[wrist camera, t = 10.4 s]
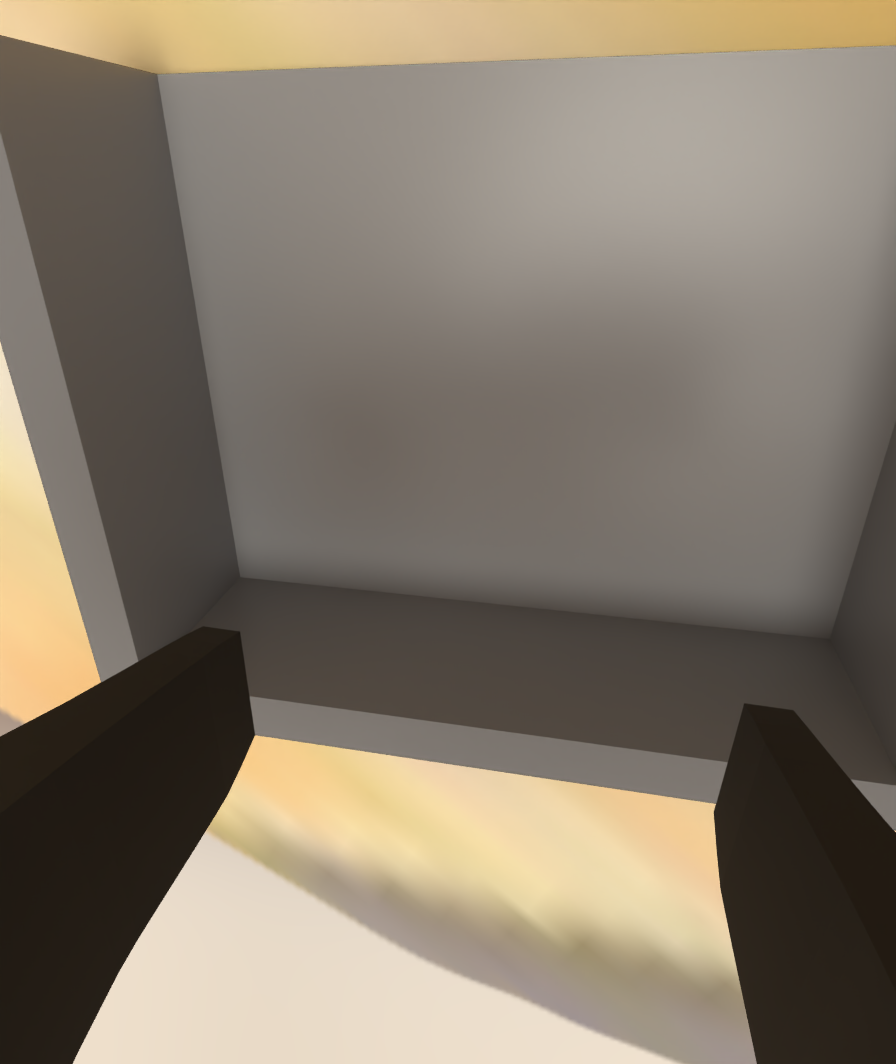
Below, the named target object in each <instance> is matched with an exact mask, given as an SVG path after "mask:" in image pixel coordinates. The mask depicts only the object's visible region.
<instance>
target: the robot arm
mask: <svg viewBox="0 0 896 1064" xmlns="http://www.w3.org/2000/svg"><path fill="white" fill-rule="evenodd" d="M254 736H255V730H254V724H253V717H252V710H251V703H250V696H249V689H248V682H247V676H246V669H245V662H244V655H243V648H242V641H241V634H240V631H233V630H226V629H219V628H212V627H205V626H203V627H201V628H198V629H196V630H194V631H192V632H190V633H188V634H186V635H185V636H183V637H181V638H179V639H177V640H175V641H173V642H172V643H170V644H168V645H166V646H164V647H163V648H161V649H159V650H157V651H156V652H154V653H152V654H150V655H149V656H147V657H145V658H143V659H142V660H140V661H138V662H136V663H135V664H133V665H131V666H129V667H128V668H126V669H124V670H122V671H121V672H119V673H117V674H115V675H113V676H112V677H110V678H108V679H106V680H105V681H103V682H101V683H99V684H98V685H96V686H94V687H92V688H90V689H89V690H87V691H85V692H83V693H82V694H80V695H78V696H76V697H75V698H73V699H71V700H69V701H67V702H66V703H64V704H62V705H60V706H58V707H56V708H54V709H52V710H50V711H48V712H47V713H45V714H43V715H41V716H39V717H37V718H35V719H33V720H31V721H29V722H27V723H25V724H24V725H22V726H20V727H18V728H16V729H14V730H12V731H10V732H8V733H7V734H4V735H2V736H1V737H0V1064H73V1061H74V1059H75V1057H76V1055H77V1053H78V1051H79V1049H80V1047H81V1045H82V1043H83V1041H84V1039H85V1037H86V1035H87V1033H88V1031H89V1030H90V1028H91V1026H92V1023H93V1022H94V1020H95V1018H96V1016H97V1014H98V1012H99V1010H100V1007H101V1006H102V1004H103V1002H104V1000H105V998H106V996H107V994H108V992H109V990H110V988H111V986H112V984H113V982H114V981H115V978H116V976H117V975H118V973H119V971H120V969H121V967H122V966H123V964H124V962H125V961H126V959H127V957H128V955H129V954H130V952H131V950H132V949H133V947H134V945H135V943H136V941H137V940H138V938H139V936H140V935H141V933H142V932H143V930H144V929H145V927H146V925H147V924H148V922H149V920H150V919H151V917H152V916H153V914H154V913H155V911H156V909H157V908H158V906H159V905H160V903H161V902H162V900H163V898H164V897H165V895H166V893H167V892H168V890H169V889H170V887H171V885H172V884H173V882H174V881H175V879H176V878H177V876H178V874H179V873H180V871H181V870H182V868H183V867H184V865H185V863H186V862H187V860H188V859H189V857H190V855H191V854H192V852H193V851H194V849H195V847H196V846H197V844H198V842H199V841H200V839H201V837H202V836H203V834H204V833H205V831H206V830H207V828H208V826H209V825H210V823H211V822H212V820H213V818H214V817H215V815H216V813H217V812H218V810H219V808H220V807H221V805H222V803H223V802H224V800H225V798H226V797H227V795H228V793H229V791H230V789H231V787H232V785H233V782H234V780H235V778H236V776H237V774H238V772H239V770H240V768H241V766H242V763H243V761H244V759H245V756H246V754H247V752H248V750H249V747H250V745H251V743H252V741H253V738H254ZM714 821H715V834H716V846H717V858H718V868H719V878H720V888H721V893H722V898H723V903H724V908H725V913H726V918H727V923H728V928H729V933H730V938H731V942H732V947H733V952H734V957H735V962H736V966H737V971H738V976H739V981H740V985H741V990H742V995H743V999H744V1004H745V1009H746V1014H747V1018H748V1023H749V1028H750V1033H751V1037H752V1042H753V1047H754V1052H755V1056H756V1061H757V1064H896V832H895V831H894V830H893V829H892V828H891V827H890V825H889V824H888V823H887V822H886V821H885V820H884V819H883V817H882V816H881V815H880V814H879V813H878V812H877V810H876V809H875V808H874V807H873V806H872V805H871V803H870V802H869V801H868V800H867V799H866V797H865V796H864V795H863V794H862V793H861V791H860V790H859V789H858V788H857V787H856V785H855V784H854V783H853V782H852V781H851V779H850V778H849V777H848V776H847V775H846V773H845V772H844V771H843V770H842V769H841V767H840V766H839V765H838V764H837V762H836V761H835V760H834V759H833V758H832V756H831V755H830V754H829V753H828V751H827V750H826V749H825V748H824V747H823V745H822V744H821V743H820V742H819V740H818V739H817V738H816V737H815V736H814V734H813V733H812V732H811V731H810V729H809V728H808V727H807V726H806V725H805V723H804V722H803V721H802V720H801V719H800V717H799V716H798V715H797V714H796V713H795V711H794V710H789V709H782V708H775V707H768V706H761V705H754V704H747V703H744V706H743V709H742V713H741V717H740V720H739V724H738V727H737V731H736V735H735V738H734V742H733V745H732V749H731V752H730V756H729V760H728V763H727V767H726V770H725V774H724V777H723V781H722V785H721V788H720V792H719V795H718V799H717V803H716V806H715V810H714Z"/></svg>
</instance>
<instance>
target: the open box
mask: <svg viewBox="0 0 896 1064" xmlns="http://www.w3.org/2000/svg"><path fill="white" fill-rule="evenodd" d="M0 342H1V345H2V349H3V352H4V355H5V359H6V362H7V366H8V369H9V372H10V376H11V379H12V383H13V386H14V389H15V393H16V396H17V399H18V403H19V406H20V410H21V413H22V416H23V420H24V423H25V426H26V430H27V433H28V437H29V440H30V443H31V447H32V450H33V453H34V457H35V460H36V464H37V467H38V470H39V474H40V477H41V480H42V484H43V487H44V491H45V494H46V497H47V501H48V504H49V508H50V511H51V514H52V518H53V521H54V524H55V528H56V531H57V535H58V538H59V541H60V545H61V548H62V551H63V555H64V558H65V562H66V565H67V568H68V572H69V575H70V578H71V582H72V585H73V589H74V592H75V595H76V599H77V602H78V606H79V609H80V612H81V616H82V619H83V622H84V626H85V629H86V633H87V636H88V639H89V643H90V646H91V649H92V653H93V656H94V660H95V663H96V666H97V670H98V673H99V676H100V680H101V682H103V681H105V680H106V679H108V678H110V677H112V676H113V675H115V674H117V673H119V672H121V671H122V670H124V669H126V668H128V667H129V666H131V665H133V664H135V663H136V662H138V661H140V660H142V659H143V658H145V657H147V656H149V655H150V654H152V653H154V652H156V651H157V650H159V649H161V648H163V647H164V646H166V645H168V644H170V643H172V642H173V641H175V640H177V639H179V638H181V637H183V636H185V635H186V634H188V633H190V632H192V631H194V630H196V629H198V628H201V627H203V626H205V627H212V628H219V629H226V630H233V631H240V634H241V641H242V648H243V655H244V662H245V669H246V676H247V682H248V689H249V696H250V703H251V710H252V717H253V724H254V730H255V735H258V736H265V737H272V738H278V739H285V740H292V741H298V742H305V743H312V744H318V745H325V746H332V747H339V748H345V749H352V750H359V751H365V752H372V753H379V754H386V755H392V756H399V757H406V758H412V759H419V760H426V761H432V762H439V763H446V764H453V765H459V766H466V767H473V768H479V769H486V770H493V771H499V772H506V773H513V774H520V775H526V776H533V777H540V778H546V779H553V780H560V781H566V782H573V783H580V784H587V785H593V786H600V787H607V788H613V789H620V790H627V791H634V792H640V793H647V794H654V795H660V796H667V797H674V798H680V799H687V800H694V801H701V802H707V803H714V804H716V803H717V799H718V795H719V792H720V788H721V785H722V781H723V777H724V774H725V770H726V767H727V763H728V760H729V756H730V752H731V749H732V745H733V742H734V738H735V735H736V731H737V727H738V724H739V720H740V717H741V713H742V709H743V706H744V703H747V704H754V705H761V706H768V707H775V708H782V709H789V710H794V711H795V713H796V714H797V715H798V716H799V717H800V719H801V720H802V721H803V722H804V723H805V725H806V726H807V727H808V728H809V729H810V731H811V732H812V733H813V734H814V736H815V737H816V738H817V739H818V740H819V742H820V743H821V744H822V745H823V747H824V748H825V749H826V750H827V751H828V753H829V754H830V755H831V756H832V758H833V759H834V760H835V761H836V762H837V764H838V765H839V766H840V767H841V769H842V770H843V771H844V772H845V773H846V775H847V776H848V777H849V778H850V779H851V781H852V782H853V783H854V784H855V785H856V787H857V788H858V789H859V790H860V791H861V793H862V794H863V795H864V796H865V797H866V799H867V800H868V801H869V802H870V803H871V805H872V806H873V807H874V808H875V809H876V810H877V812H878V813H879V814H880V815H881V816H882V817H883V819H884V820H885V821H886V822H887V823H888V824H889V825H890V827H891V828H892V829H893V830H895V831H896V46H870V47H845V48H819V49H793V50H768V51H742V52H716V53H691V54H665V55H639V56H614V57H588V58H563V59H537V60H511V61H486V62H460V63H434V64H409V65H383V66H357V67H332V68H306V69H280V70H255V71H229V72H204V73H178V74H154V73H150V72H146V71H142V70H138V69H134V68H130V67H126V66H122V65H118V64H114V63H110V62H106V61H102V60H98V59H94V58H90V57H86V56H82V55H78V54H74V53H70V52H66V51H62V50H58V49H54V48H50V47H46V46H42V45H38V44H34V43H30V42H26V41H22V40H18V39H14V38H10V37H6V36H2V35H0Z"/></svg>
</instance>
